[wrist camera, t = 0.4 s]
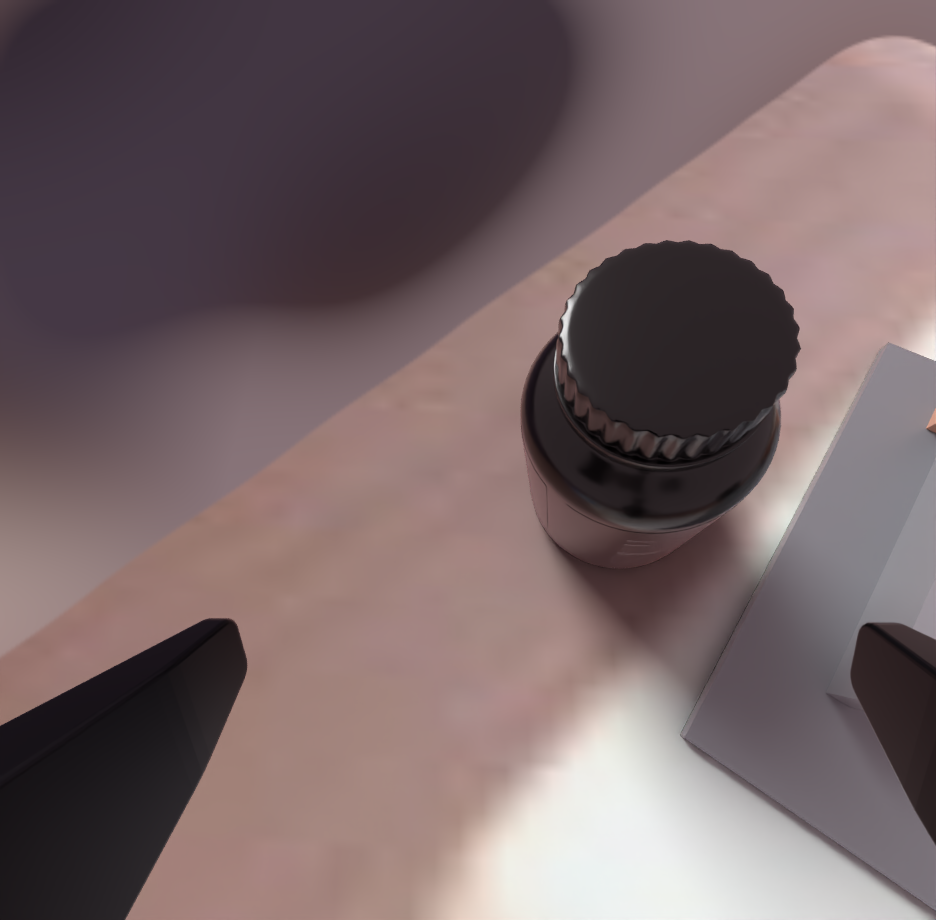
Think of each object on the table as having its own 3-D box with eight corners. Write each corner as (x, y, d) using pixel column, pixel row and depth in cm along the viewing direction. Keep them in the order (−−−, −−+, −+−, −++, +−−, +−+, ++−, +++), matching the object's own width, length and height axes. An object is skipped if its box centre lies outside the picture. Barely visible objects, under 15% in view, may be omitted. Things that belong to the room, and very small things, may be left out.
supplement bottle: (709, 433, 22) (884, 222, 11) (679, 592, 20) (852, 542, 9) (550, 399, 23) (555, 183, 12) (510, 543, 22) (471, 448, 10)
